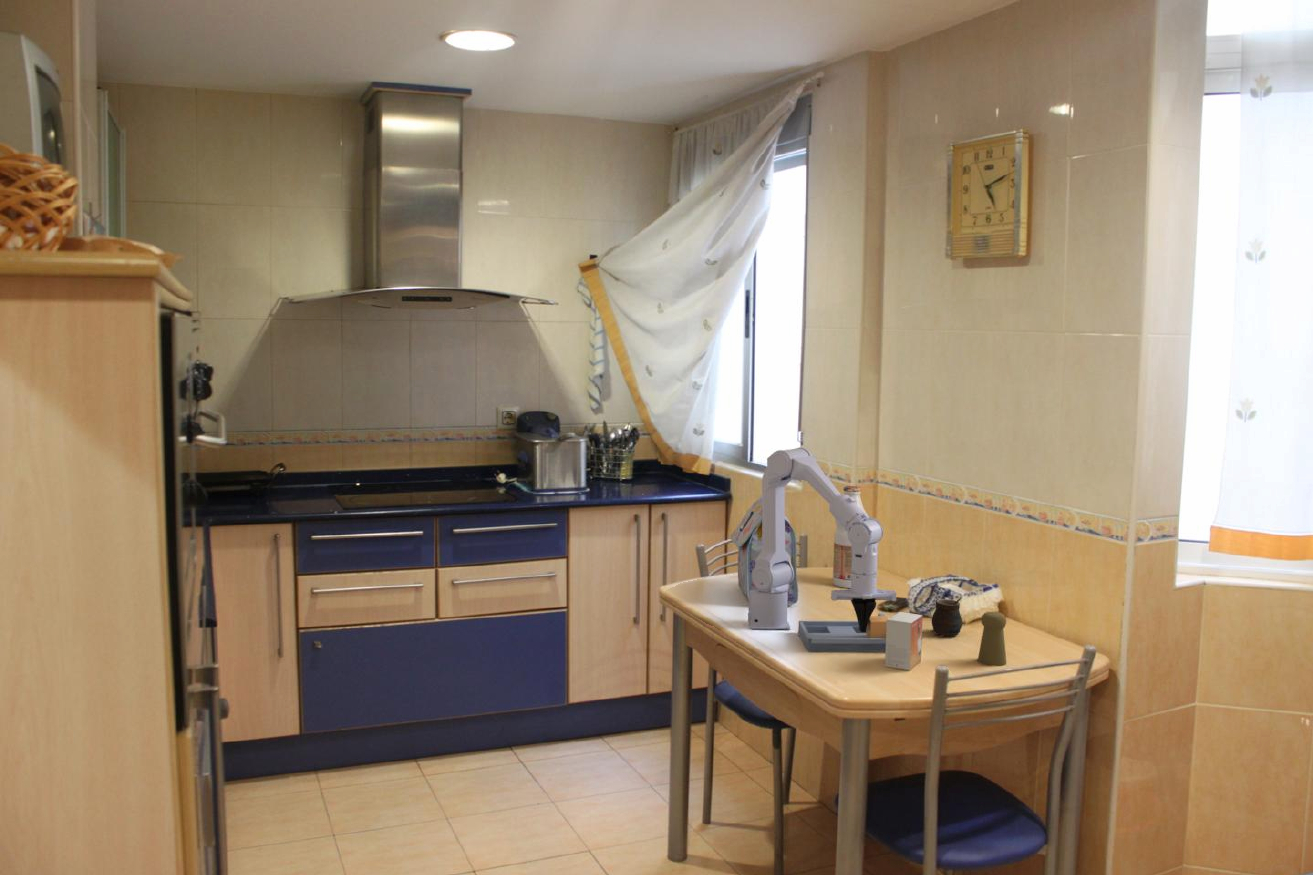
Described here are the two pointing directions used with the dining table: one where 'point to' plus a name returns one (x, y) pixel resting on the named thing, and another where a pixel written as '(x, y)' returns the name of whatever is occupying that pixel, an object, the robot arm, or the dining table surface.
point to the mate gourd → (947, 618)
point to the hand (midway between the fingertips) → (862, 630)
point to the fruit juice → (844, 545)
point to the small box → (903, 640)
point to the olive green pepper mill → (992, 640)
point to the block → (877, 627)
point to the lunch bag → (751, 546)
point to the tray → (838, 637)
